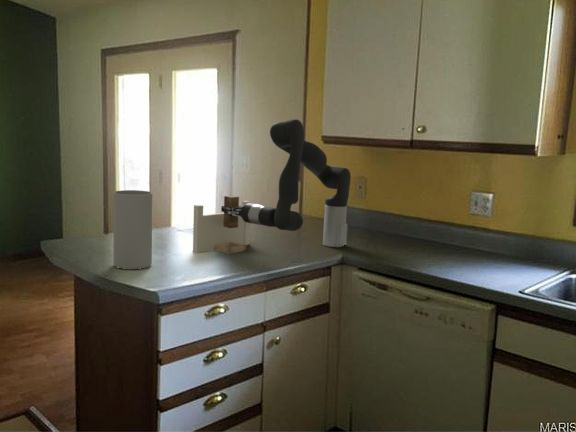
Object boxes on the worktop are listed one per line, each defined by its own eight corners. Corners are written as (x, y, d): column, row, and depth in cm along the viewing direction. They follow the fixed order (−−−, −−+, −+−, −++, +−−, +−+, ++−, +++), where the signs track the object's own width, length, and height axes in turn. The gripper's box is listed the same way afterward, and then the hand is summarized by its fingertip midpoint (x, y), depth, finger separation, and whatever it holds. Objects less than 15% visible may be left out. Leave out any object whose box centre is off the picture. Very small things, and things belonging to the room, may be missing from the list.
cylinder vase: (113, 271, 181) (112, 194, 177) (113, 261, 193) (113, 190, 189) (152, 270, 185) (153, 195, 181) (150, 260, 196) (151, 190, 193)
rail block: (237, 227, 218) (238, 196, 216) (230, 228, 215) (231, 197, 213) (231, 225, 221) (232, 195, 219) (223, 226, 218) (224, 196, 216)
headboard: (262, 248, 226) (264, 204, 223) (210, 256, 206) (211, 209, 204) (245, 243, 233) (246, 200, 230) (192, 251, 214) (193, 205, 211)
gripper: (270, 203, 212) (240, 197, 223) (242, 205, 201) (212, 199, 213) (269, 222, 213) (239, 216, 224) (241, 225, 202) (211, 219, 214)
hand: (226, 208), depth 219 cm, fingers closed on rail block, 4 cm apart
